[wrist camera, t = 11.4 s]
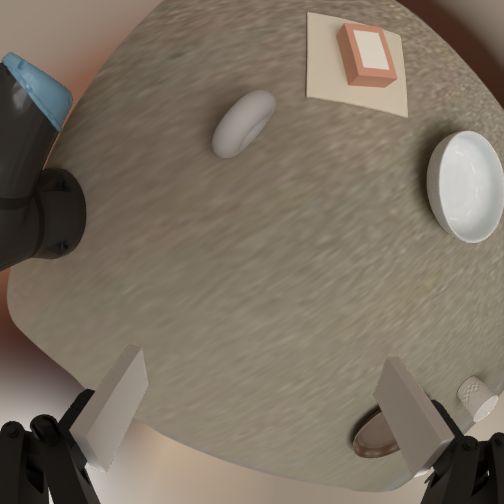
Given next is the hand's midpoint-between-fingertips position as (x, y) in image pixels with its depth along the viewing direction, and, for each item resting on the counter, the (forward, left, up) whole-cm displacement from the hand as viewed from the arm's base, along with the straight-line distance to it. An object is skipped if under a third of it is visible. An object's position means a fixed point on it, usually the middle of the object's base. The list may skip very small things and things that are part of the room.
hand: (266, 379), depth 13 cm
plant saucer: (+33, -37, -27) cm, 57 cm away
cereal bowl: (+31, +14, -27) cm, 43 cm away
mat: (+13, +31, -27) cm, 43 cm away
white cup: (+54, -30, -27) cm, 67 cm away
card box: (+13, +31, -26) cm, 42 cm away
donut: (-3, +17, -27) cm, 32 cm away
